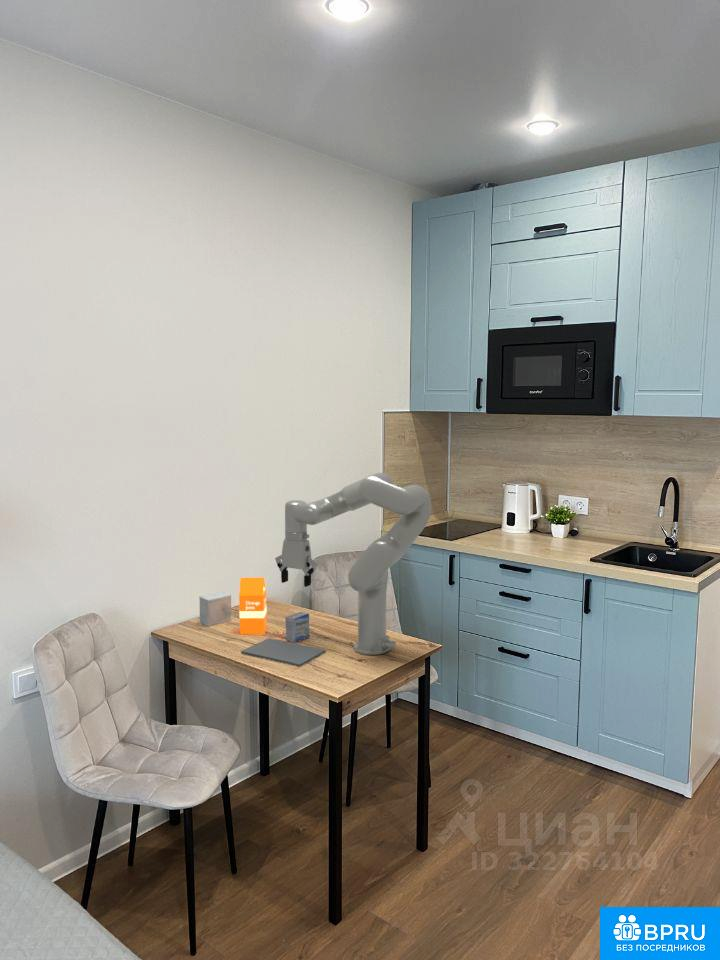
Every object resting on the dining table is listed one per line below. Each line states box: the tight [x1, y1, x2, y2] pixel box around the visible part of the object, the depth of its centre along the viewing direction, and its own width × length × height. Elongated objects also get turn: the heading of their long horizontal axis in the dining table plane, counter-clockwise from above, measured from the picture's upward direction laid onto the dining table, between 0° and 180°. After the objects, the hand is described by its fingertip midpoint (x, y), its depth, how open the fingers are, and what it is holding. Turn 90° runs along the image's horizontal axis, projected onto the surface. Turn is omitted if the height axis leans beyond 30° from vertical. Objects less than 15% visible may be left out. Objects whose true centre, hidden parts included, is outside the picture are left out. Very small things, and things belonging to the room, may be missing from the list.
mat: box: [240, 637, 326, 667], centre depth 241 cm, size 24×15×1 cm, turn 60°
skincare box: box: [199, 591, 232, 627], centre depth 274 cm, size 10×6×10 cm, turn 133°
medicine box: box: [285, 611, 310, 643], centre depth 255 cm, size 8×4×9 cm, turn 143°
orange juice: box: [238, 577, 268, 635], centre depth 263 cm, size 8×9×20 cm
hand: (296, 583), depth 253 cm, fingers open, 9 cm apart
